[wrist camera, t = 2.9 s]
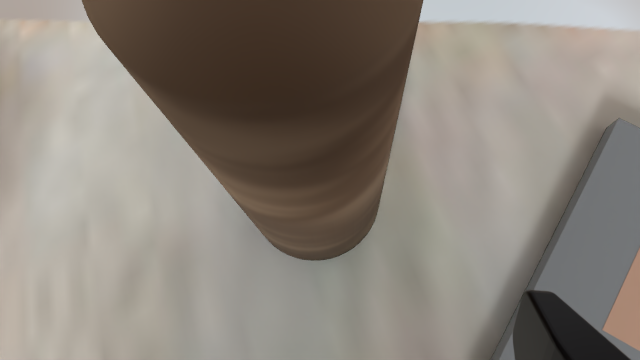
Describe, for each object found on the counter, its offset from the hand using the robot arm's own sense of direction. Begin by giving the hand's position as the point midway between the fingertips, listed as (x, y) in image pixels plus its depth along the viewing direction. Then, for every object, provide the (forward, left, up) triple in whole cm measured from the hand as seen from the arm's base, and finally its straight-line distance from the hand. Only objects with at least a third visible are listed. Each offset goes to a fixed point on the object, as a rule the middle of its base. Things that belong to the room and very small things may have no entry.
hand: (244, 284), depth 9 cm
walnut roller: (+2, +4, -11) cm, 12 cm away
